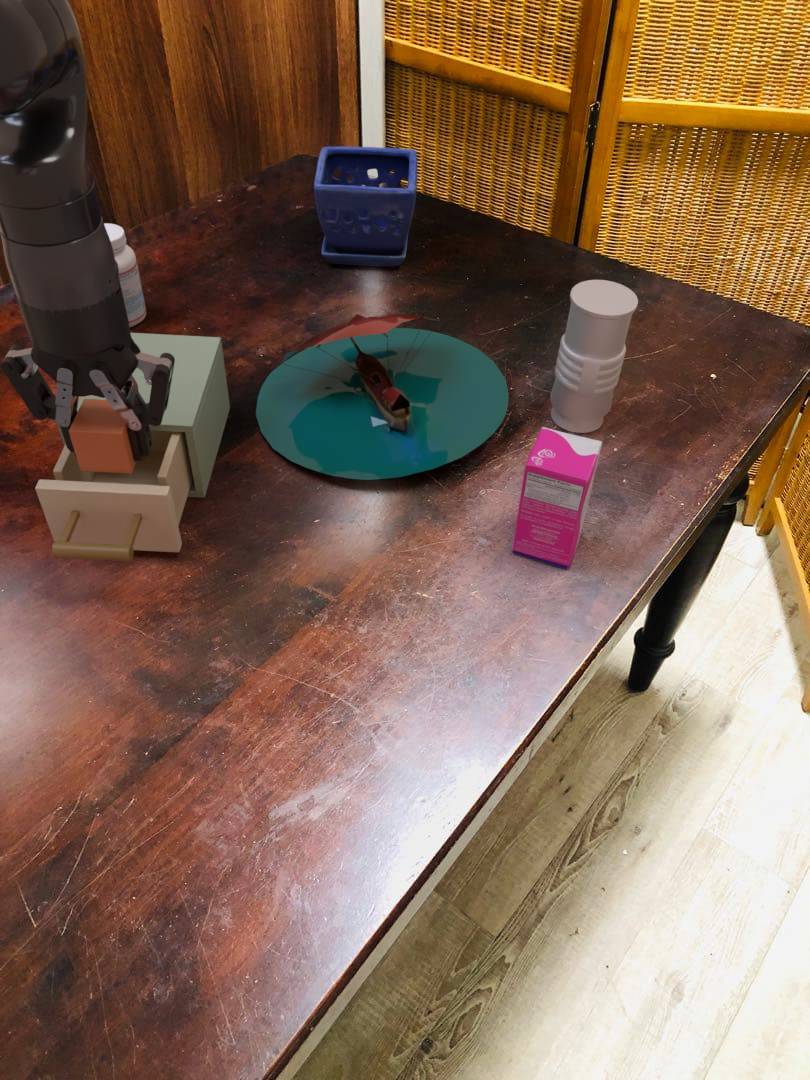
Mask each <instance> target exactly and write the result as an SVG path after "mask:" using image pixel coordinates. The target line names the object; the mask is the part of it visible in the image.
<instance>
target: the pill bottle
mask: <svg viewBox="0 0 810 1080" xmlns="http://www.w3.org/2000/svg"><path fill="white" fill-rule="evenodd" d="M104 225H105V228H106V231H107V233H108V236H109V239H110V242H111V245H112V249H113V253H114V257H115V260H116V261H117V264H118V269H119V275H118V276H119V280H120V285H121V289H122V294H123V298H124V303H125V308H126V312H127V317H128V321H129V327H130V328H133V327H134V326H136V325H139V324H141V323H142V322H143V321H144V320H145V318H146V317H147V307H146V302H145V298H144V297H145V296H144V292H143V287H142V281H141V277H140V272H139V267H138V260H137V257H136V253H135V251H134V250H133V249H132V247H130V246H129V245H128V244H127V237H126V233H125V232H126V231H125V230H124V228H123V227H122V226H120V225H118V224H115V223H109V222H106V223H105V222H104Z"/></svg>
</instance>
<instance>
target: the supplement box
mask: <svg viewBox="0 0 810 1080" xmlns="http://www.w3.org/2000/svg"><path fill="white" fill-rule="evenodd" d="M602 446H603V441H602V440H597V439H593V438H589V437H584V436H580V435H576V434H571V433H568V432H564V431H560V430H556V429H553V428H548V427H545V426H542V427H541V429H540V431H539V434H538V435H537V437H536V440H535V442H534V444H533V446H532V448H531V451H530V452H529V453H530V454H529V455H528V458H527V460H526V462H525V465H524V470H523V471H524V472H523V478H522V485H521V491H520V498H519V504H518V510H517V517H516V523H515V529H514V530H515V531H514V537H513V543H512V548H511V549H512V550H511V553H512V554H514V555H517V556H521V557H524V558H529V559H531V560H535V561H537V562H541V563H545V564H547V565H551V566H554V567H558V568H561V569H563V570H567V571H568V570H570V568H571V565H572V563H573V561H574V558H575V555H576V552H577V550H578V547H579V544H580V541H581V537H582V534H583V531H584V524H585V520H586V515H587V511H588V507H589V502H590V499H591V494H592V490H593V485H594V481H595V477H596V472H597V469H598V468H597V467H598V463H599V459H600V454H601V450H602Z"/></svg>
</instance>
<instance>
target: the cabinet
mask: <svg viewBox="0 0 810 1080" xmlns="http://www.w3.org/2000/svg"><path fill="white" fill-rule="evenodd" d="M130 334H131V337H132V339H133V341H134V342H135V343H136V345H137V346H138V347H139V349H140V351H141V353H144V354H148V355H152V356H155V357H159V358H160V356H161V354H163V353H169V354H171V355H172V356H173V357H174V359H175V363H174V369H173V375H172V381H171V388H170V394H169V400H168V406H167V408H166V410H165V412H164V415H163V419H162V422H161V424H160V425H159V426H152V425H150V424H149V427H150V430H154V431H174V432H185V435H186V440H187V446H188V451H189V457H190V462H191V468H192V473H193V480H192V483H191V486H190V490H189V493H188V496H187V498H201V499H205V498H206V494H207V491H208V487H209V484H210V480H211V477H212V474H213V470H214V466H215V462H216V460H217V455H218V452H219V449H220V445H221V443H222V442H221V441H222V437H223V434H224V430H225V427H226V424H227V420H228V417H229V413H230V410H231V403H230V397H229V388H228V381H227V373H226V366H225V359H224V351H223V350H224V349H223V343H222V337H221V336H220V337H219V336H202V335H200V336H199V335H185V334H183V335H181V334H163V333H162V334H161V333H143V332H130ZM132 376H133V377H134V379H135V381H136V382H137V384H138V391H139V393H140V395H141V396H142V398H143V400H144V401H145V403H149V400H150V393H151V386H152V385H148V384H147V383H146V380H145V378H144V373H143V371H142V370H140V369H139V368H136V369H135V371H134V372H133V374H132ZM84 399H101V400H107V399H106V398H101V397H97V396H94V395H90V396H84V397H79V405H78V408H77V412H78V410H79V408H80V406H81V404H82V402H83V400H84ZM56 425H57V428H58V431H59V432H58V433H59V435H60V438H61V442H62V444H63V447H64V446H65V444H66V443H65V440H64V437H63V434H62V430H61V427H60V426H59V425H58V424H57V423H56Z"/></svg>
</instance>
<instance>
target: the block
mask: <svg viewBox="0 0 810 1080" xmlns="http://www.w3.org/2000/svg"><path fill="white" fill-rule="evenodd" d="M127 429H128V426H127V424H126V423H125V421H124V420H123V418H122V416H121V415H120V413H119V412H115V411H114V410H113V409H112V407H111V405H110V404H109V402H108V401H107V400H101V399H84V400H83V402H82V404H81V406H80V408H79V410H78V412H77V414H76V416H75V419H74V421H73V423H72V425H71V427H70V429H69V434H70V437H71V441H72V444H73V447H74V451H75V454H76V457H77V460H78V464H79V467H80V470H81V471H90V472H109V473H129V474H132V472H133V469H134V467H135V464H136V461H134V458H133V454H132V450H131V446H130V442H129V438H128V434H127Z"/></svg>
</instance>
